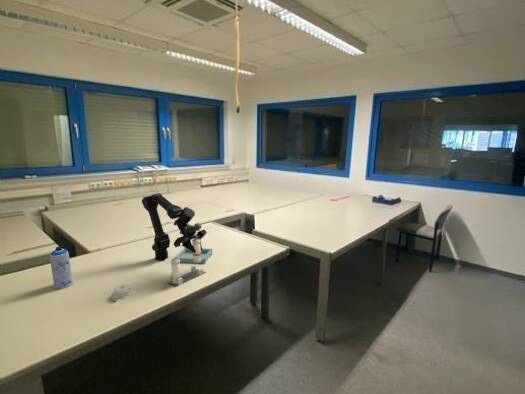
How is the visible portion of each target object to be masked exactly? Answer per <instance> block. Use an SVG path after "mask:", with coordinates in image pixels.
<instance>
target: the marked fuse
mask: <svg viewBox="0 0 525 394" xmlns="http://www.w3.org/2000/svg"><path fill="white" fill-rule="evenodd" d="M200 243H201V244H202V239H201V240H200V239H191V244H192V245H193V247H194V249H195V251H196V253H194V252H193V262H194V263H193V264H200V263H199V262H201V247H200Z"/></svg>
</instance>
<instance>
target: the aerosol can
mask: <svg viewBox="0 0 525 394" xmlns="http://www.w3.org/2000/svg"><path fill="white" fill-rule="evenodd" d="M49 260H50V261H49V262H50V267H51V273H52V279H53V288H54V289H56V290H63V289H68V288H69V287H72V286H73V285H74V282H73V277H72V269H71V261H70V260H71V259H70V254H69V251H68V250H67V249H66V248H62V246H60V245H58V246H56V247H55V249H54V250H53V251H51V252H50V253H49Z"/></svg>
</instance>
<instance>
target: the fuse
mask: <svg viewBox="0 0 525 394" xmlns="http://www.w3.org/2000/svg"><path fill="white" fill-rule="evenodd" d="M170 263H171V275H172V283H173V284H177V279H179V278H181V276H182V275H181V262H180V259H178V258H175V257H174V258H172V259H171V260H170Z"/></svg>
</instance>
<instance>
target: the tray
mask: <svg viewBox="0 0 525 394" xmlns="http://www.w3.org/2000/svg"><path fill="white" fill-rule="evenodd" d="M212 255H213V248H203V247H202V250H201V262H199V263H198V264H206V263H207V262H208V261H209V259H210V258H211V257H212ZM175 258H178V259H180V263H185V264H186V263H187V264H188V263H189V264H195V263H194V262H193V252H192V251H191V250H189V249H187V248H185V247H183V249H182V250H181V251H180V252H178V254H177V255H176V256H175V257H174V259H175Z"/></svg>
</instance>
